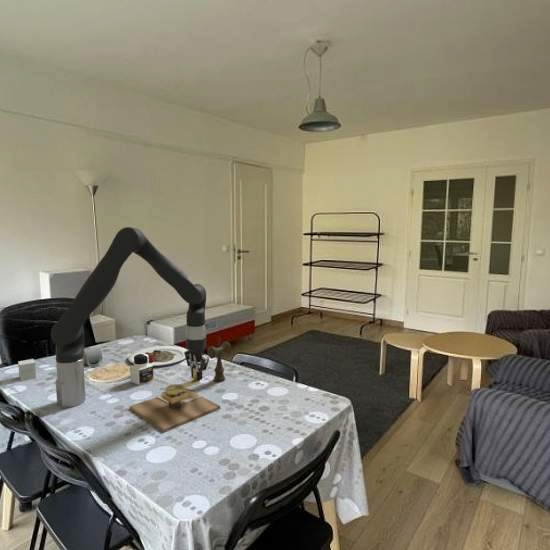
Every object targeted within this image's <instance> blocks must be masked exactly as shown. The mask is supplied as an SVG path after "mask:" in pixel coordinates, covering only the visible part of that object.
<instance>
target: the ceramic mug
mask: <svg viewBox="0 0 550 550" xmlns="http://www.w3.org/2000/svg"><path fill="white" fill-rule="evenodd" d="M102 352H103V351H102V349H101V347H100V346H97V347H92V348H87V349H84V351H83V363H84V365H87V366H88V367H91V368H96V367H99V366H101V363H102V362H103V353H102Z"/></svg>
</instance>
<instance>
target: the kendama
mask: <svg viewBox="0 0 550 550" xmlns="http://www.w3.org/2000/svg"><path fill="white" fill-rule="evenodd" d="M206 353H207V355H208V358H209V359H215V358H217V360H216V364H215V365H216V366H215V368H214V369H213V370H214V372H215V373H214V374H215V375H214V377H213V380H214V381H216V382H223V381H224V380H225V379H226V377H225V374H224V371H225V367H223V362H222V354H224V355H227V356H229V355H231V353H232V346H231V344H230V343H229V342H228V341H224V342H222V343H221V337H220V336H218V337H217V347H215V346H212V345H211V346H208V347H207V352H206Z"/></svg>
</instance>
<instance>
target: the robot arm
mask: <svg viewBox="0 0 550 550" xmlns="http://www.w3.org/2000/svg"><path fill="white" fill-rule="evenodd" d="M133 253H134V254H136V255H137V256H139V257H140V258H142V259H143V260H144V261H145V262H147V264H149V266H150V267H151V268H152V269H153V270H154V272H155V273H157V275H158V276H159V277H160V278H161V279H163V281H164V282H166V283H167V284H168V285H170V286H171V287H172V288H173V289H174V291H176V293H177V294H178V295H179V296H180V297H181V299H182V300H183V301H185V302H186V303H188V309H187V311H186V316H185V317H186V328H185V339H186V340H185V344H186V346H185V347H186V348H185V349H186V350H187V351H185V352H184V354H185V357H186V358H185V361H186V364H187V367H189V368H190V374H191V375H190V376H191V379H193V367H196V370H197V371H196V377H197V381H202V379H203V371H206V370H207V368H208V364H209V361H210V357H209V356H208V357H207V356H206V353H205V349H206V347H207V329H206V328H207V327H206V312H205V311H206V304H207V290H206V288H205V286H203V285H202V284H200V283H194V284H193V282H192V281H191V280H190V279H189V278H188V275H187V273H185V272H184V271H183V270H182V269H181V268H180V267H178V266H177V265H176V264H175V263H174V262H173V261H171V260H170V259H169V258H167V256H165V255H164V254H163V253H161V252H160V250H158V248H156V247H155V245H154V244H153V243H152V242H151V241H150V240H149V238H148V237H147V236H146V235H145V233H143V231H142V230H141V229H139V228H135V227H130V226H127V227H122V228H121V229H120V230H118V232H117V233H116V234H115V236H114V237H113V240H112V242H111V244H110V246H109V247H108V248H107V251H106V253H105V254H104V255H103V257H102V258H101V259H100V261H99V262H98V264H96V266H95V268H94V269H93V270H92V271H91V273H90V274H89V276H88V277H87V279H86V280H85V281H84V283H83V284H82V286H81V287H80V289H79V291H78V292H77V294H76V295H75V297H74V300H73V301H72V303H71V304H70V306H69V307H68V308H67V310H66V311H65V312H64V313H63V315H62V316H61V317H60V318H59V319H58V320H57V321H56V322H55V324H54V325H52V327H51V332H50V336H51V339H52V342H53V343H54V344H56V345H58V348H57V351H56V354H55V363H56V365H55V367H56V379H55V390H56V393H55V394H56V395H55V396H56V404H58V406H60V407H61V408H62V409H64V408H70V407H76V406H79V405H82V404H83V403H84V402H85V401H86V383H85V381H86V380H85V369H84V368H85V366H84V365H85V364H84V362H83V351H84V350H85V330H84V329H85V328H84V324H85V322H86V321H87V319H88V318H89V317H90V315H91V314H92V313H93V312H95V311H96V309H98V307H99V306H100V305H101V304H102V303H103V301H104V300H106V299H107V297H108V295H109V294H110V292H111V291H112V289H113V288H114V287H115V285H116V282H117V280H118V278H119V274H120V271H121V269H122V267H123V266H124V264H125V263H126V261H127V260H128V259H129V257H130V256H131V255H132V254H133ZM199 367H200V368H199Z"/></svg>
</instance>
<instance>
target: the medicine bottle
mask: <svg viewBox="0 0 550 550" xmlns="http://www.w3.org/2000/svg"><path fill="white" fill-rule="evenodd" d="M148 363H149V359H148V355H147V354H137V355H135V356H134V364H133V365H130V366H129V375H130V383H133V384H135V385H139V386H142V385H145V384H147V383H150V382H154V366H153V365H151V364H148Z"/></svg>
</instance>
